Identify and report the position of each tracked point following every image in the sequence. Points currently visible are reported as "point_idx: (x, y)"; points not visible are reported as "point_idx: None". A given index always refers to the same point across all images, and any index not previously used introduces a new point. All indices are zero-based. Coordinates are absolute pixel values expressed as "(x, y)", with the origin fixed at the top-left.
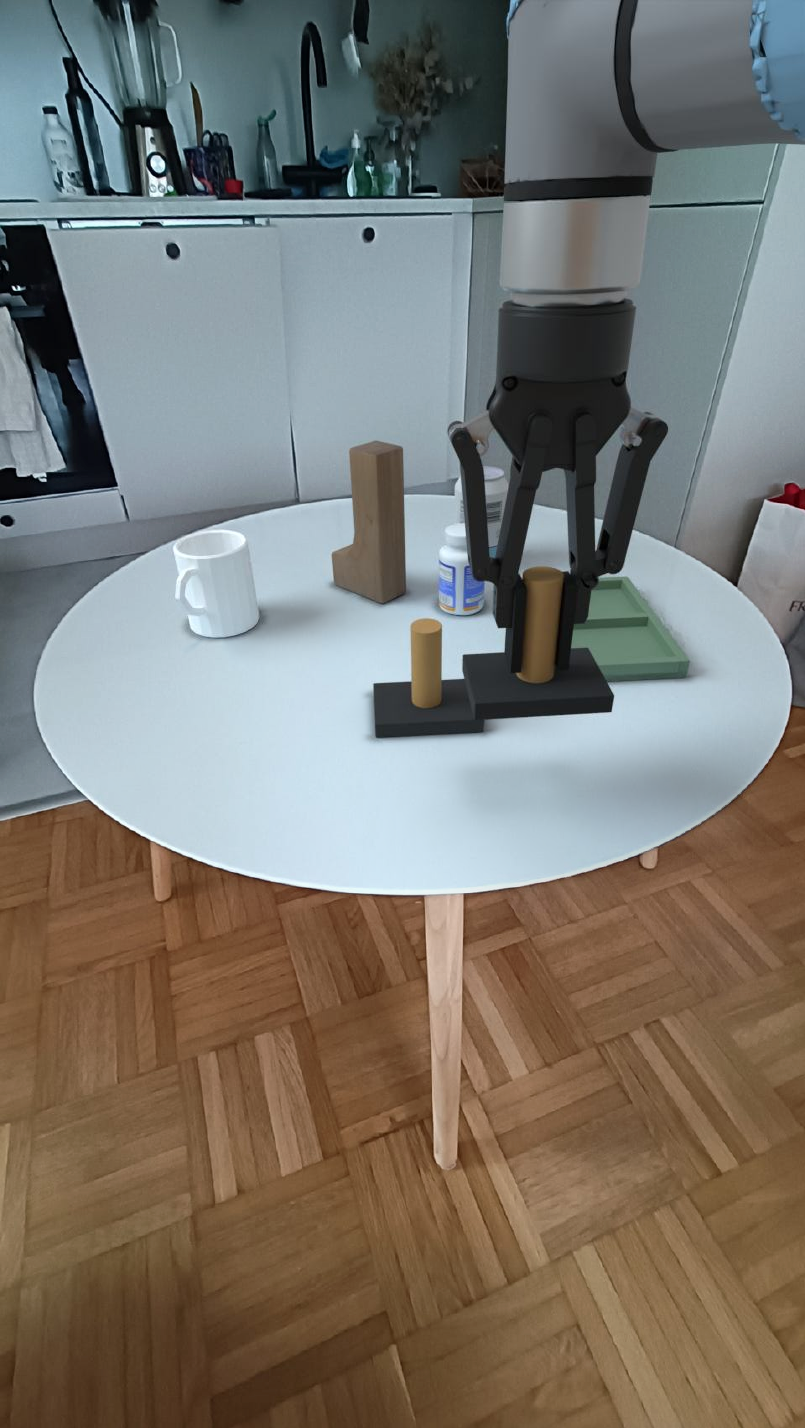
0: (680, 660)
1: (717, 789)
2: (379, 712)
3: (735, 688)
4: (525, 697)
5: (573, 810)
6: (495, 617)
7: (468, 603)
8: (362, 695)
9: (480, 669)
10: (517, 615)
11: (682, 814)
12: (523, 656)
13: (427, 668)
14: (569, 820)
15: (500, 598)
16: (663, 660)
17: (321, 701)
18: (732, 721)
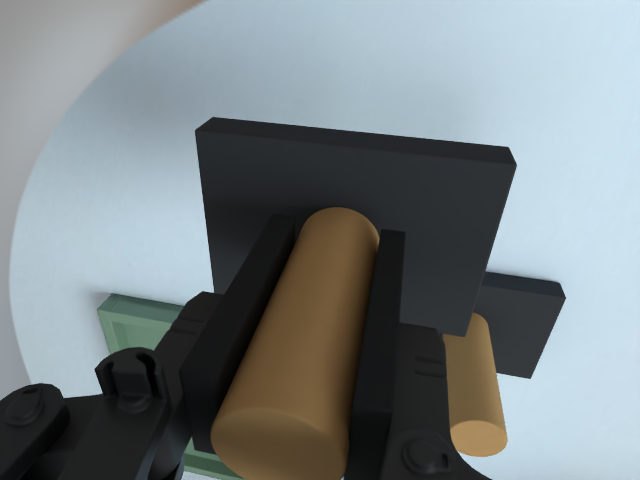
0: (107, 313)
1: (110, 81)
2: (547, 320)
3: (59, 262)
4: (388, 162)
5: (316, 71)
6: (444, 357)
7: (343, 476)
8: (543, 367)
9: (449, 282)
10: (388, 337)
11: (165, 36)
12: (368, 261)
13: (476, 364)
14: (328, 50)
15: (436, 405)
16: (128, 318)
17: (610, 371)
18: (71, 206)
